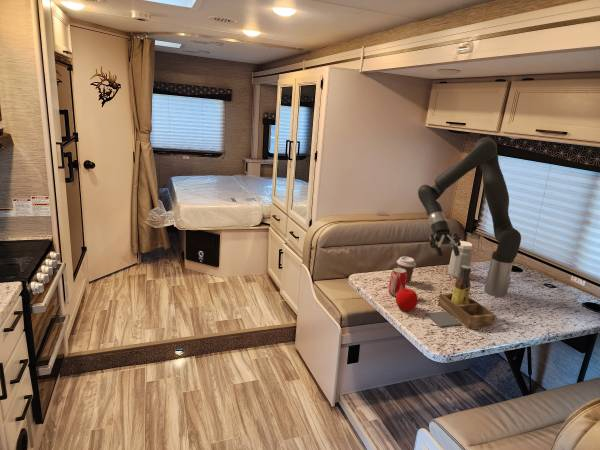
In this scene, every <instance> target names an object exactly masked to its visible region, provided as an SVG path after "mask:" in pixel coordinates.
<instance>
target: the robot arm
mask: <svg viewBox="0 0 600 450" xmlns="http://www.w3.org/2000/svg"><path fill="white" fill-rule="evenodd" d="M479 166H480V168H481V173H482V175H481V177H482V186H483V192H484V195H485V199H486V203H487V208H488V210H489V213H490V215H491V219H492V226H493V227H492V228H493V234H494V238H495V241H497V242H498V243H497V244H498V245H497V247H496V250H494V251H493V252H492V254H491V259H490V261H489V262H490V263H489V266H488V267H489V268H488V271H487V275H486V276H487V277H486V281H485V283H484V289H483V290H484V293H486V294H488V295H489V296H493V297H495V298H496V297H498V298H505V296H507V295H508V291H509V288H510V284H511V279H512V276H511V272H512V269H513V264H514V260H515V259H516V257H517V256H518V252H519V250H520V246H521V241H522V234H521V233H520V231H519V230H517V229H516V228H515V227H514V226H513V224H512V221H511V219H510V215H509V208H510V207H509V206H510V196H509V191H508V188H507V187H508V186H507V184H506V179H505V177H504V175H503V172H502V169H501V165H500V163H499V156H498V144H497V142H496V140H494V139H493V138H491V137H488V136H483V137H481V138H479V139H478V140H477V141H476V142H475V144H474V146H473V149H471V151H470V152H468V154H467V155H466V156H465V157H464V158H462V159H461V160H460V161H458V162H457V163H456V162H455V164H453V165H451V166H450V167H448V168H447V169H446V170H444V171H443V172H441V174H439V175H438V176H436V178H435V179H434V183H435V184H434V185H432V186H431V185H429V184H422V185H421V186H419V188H418V190H417V196H418V198H419V200H420V203H421V204H422V206H423V208H424V209H425V212H426V216H427V219H428V224H429V227H430V229H431V232H432V233H431V234H430V235H429V236H428V240H429V246H430V248H431V249H434V250H435V251H436V254H437V256H438V257H439V258H441V257H444V254H443V251H442V250H443V249H442V247H441V245H448V246H449V247H451V248H452V250H453V251H454V254H455V256H459V254H460V252H459V249H458V247H459V246H460V245H461V243H460V241H461V240H460V238H459V236H458V233H454V234H451V232H450V230H451V229H450V226H449V223H448V220H447V218H446V215H445V213H444V210H443V208H442V206H441V204H440V203H439V202H438V201H437V200H438V199H439V198H440V197H441V196H442V195H443V194H444V193H445V192H446V190H447V189H448V188H450V187H452V186H453V184H455V183H456V182H458V181H459V180H460V179H461V178H464V176H465V175H466V174H468V173H470V172H471V171H473V170H474V169H476V168H477V167H479ZM457 243H458V244H457Z"/></svg>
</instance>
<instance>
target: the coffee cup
mask: <svg viewBox="0 0 600 450" xmlns="http://www.w3.org/2000/svg"><path fill="white" fill-rule="evenodd" d="M396 264H397V268H403V269H405V270H406V273H407V279H406V285H410V284H411V280H412V277H413V272H414V269H415V267H416V265H417V263H416V262H415V259H414V258H413V257H410V256H400V257H399V258H398V259H397V260H396Z"/></svg>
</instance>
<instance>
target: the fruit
mask: <svg viewBox="0 0 600 450" xmlns="http://www.w3.org/2000/svg"><path fill="white" fill-rule="evenodd" d="M418 300H419V297H418V295H417V292H415V290H413V289H410V288H408V287H407V286H405V289H401V290H400V291H399V292H398V293H397V295H396V296H395V303H396V306H397V307H398V309H400V310H402V311H404V312H405V311H406V312H408V311H409V312H410V311H412V310H414V309H415V308H416V307H417V306H418V303H419V301H418Z"/></svg>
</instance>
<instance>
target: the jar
mask: <svg viewBox="0 0 600 450" xmlns="http://www.w3.org/2000/svg"><path fill="white" fill-rule="evenodd" d="M459 241H460V243H461V245H460V246H459V247H458V249H459V252H460V254H459V256H455V254H454V251H453V249H452V251H451V254H450V261H449V265H448V269H447V272H448V274H449V276H450V277H452V278H455V279H457V278H458V277H459V276H460V272H461V266H462V265H466V266H469V267H471V262H472V258H473V253H472V249H473V244H472V243H471V242H469V241H465V240H459ZM457 244H458V243H457Z"/></svg>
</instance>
